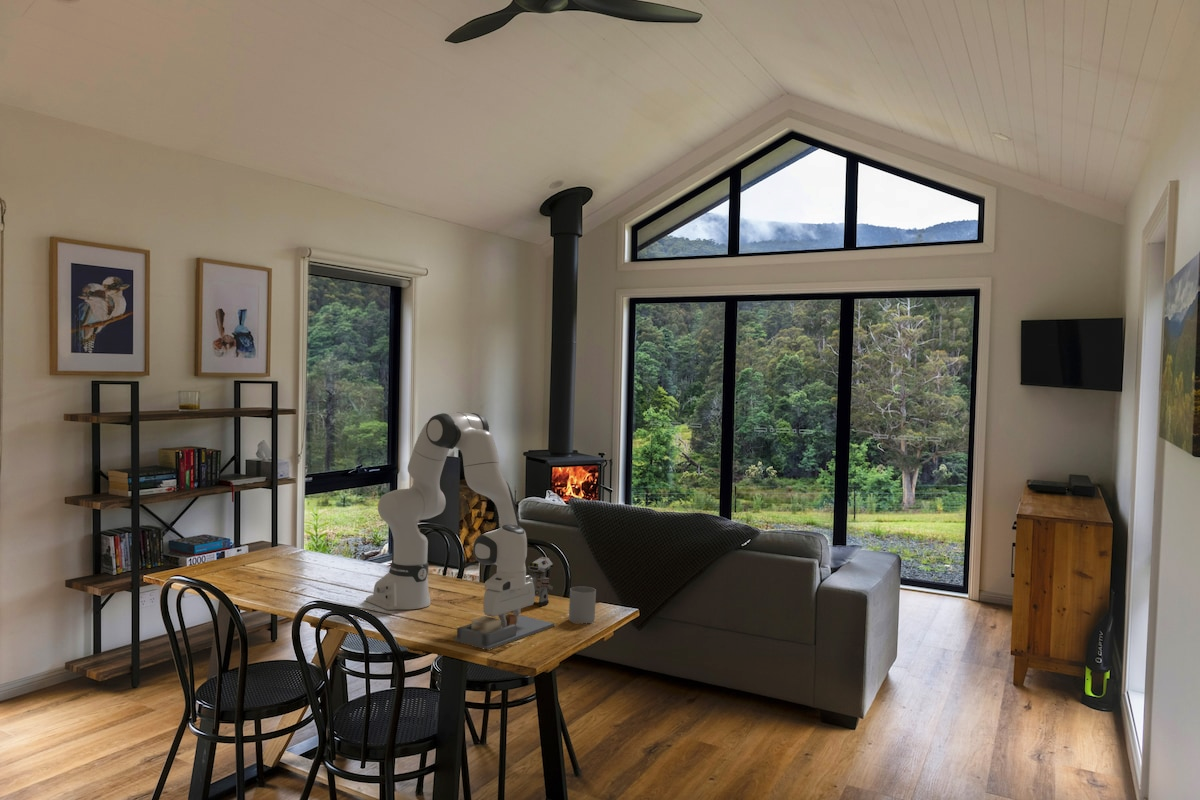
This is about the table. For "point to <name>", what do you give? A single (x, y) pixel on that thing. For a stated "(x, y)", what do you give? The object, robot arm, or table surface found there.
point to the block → (490, 623)
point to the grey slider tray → (501, 633)
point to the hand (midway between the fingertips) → (509, 625)
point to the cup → (582, 604)
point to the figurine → (541, 579)
